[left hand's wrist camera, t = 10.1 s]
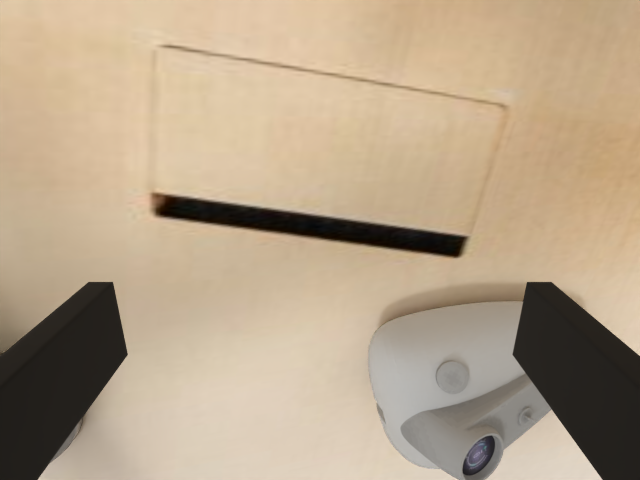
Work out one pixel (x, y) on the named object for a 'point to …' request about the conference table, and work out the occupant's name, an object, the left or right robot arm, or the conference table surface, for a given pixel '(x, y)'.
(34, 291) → the conference table surface
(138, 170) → the conference table surface
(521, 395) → the projector
